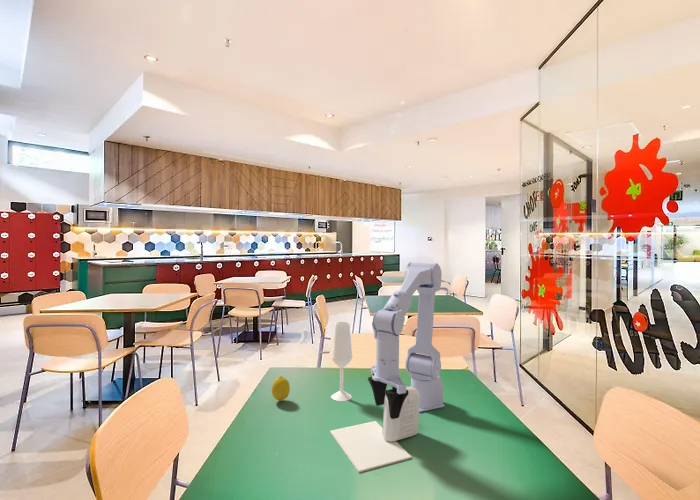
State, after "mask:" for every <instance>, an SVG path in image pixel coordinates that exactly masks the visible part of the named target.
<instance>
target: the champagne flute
mask: <svg viewBox="0 0 700 500" xmlns="http://www.w3.org/2000/svg"><path fill="white" fill-rule="evenodd" d="M351 339H352V337H351V326H350V322H349V321H335V323H334V328H333V339H332V348H331V360H332V362H334V364H335V365H336V366H337V367H339V390H338V391H336V392H335V393H333V394H331V396H330V398H331V399H332V400H333V401H337V402H348V401H349V400H351V399H352V395H351V394H350V393H348V392H347V391H345V390H344V367H346V366H347V365H349V363H350V362H351V361H352V359H353V353H352V352H353V351H352V340H351Z"/></svg>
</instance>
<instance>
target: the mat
mask: <svg viewBox="0 0 700 500" xmlns="http://www.w3.org/2000/svg"><path fill="white" fill-rule="evenodd" d="M382 429H383V426H381V425H380V424H379V423H378V422H377V421H376V420H373V421H368V422H365V423H360V424H355V425H354V424H353V425H351V426H346V427H341V428H335V429H331V430H329V433H330V435H332V437H333V438H334V440H335V441H336V443H337V444H338V445H339V447H340V448H341V450H342V452H343V453H344V454H345V456H346V457H347V458H348V459H349V461H350V462H351V464H352V465H353V467H354V468H355V469H356V471H357V472H358V473H363V472H365V471H371V470H373V469H376V468H380V467H384V466H388V465H391V464H392V465H393V464H397V463H399V462H402V461H403V462H404V461H406V460H410V459H412V455H411V454H410V453H408V451H406V449H405V448H403V446H401V444H400V443H399V442H398V441H390V442H389V441H387V440H385V439H384V438H383V435H382Z"/></svg>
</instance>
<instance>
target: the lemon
mask: <svg viewBox="0 0 700 500" xmlns="http://www.w3.org/2000/svg"><path fill="white" fill-rule="evenodd" d="M290 388H291V387H290V382H289V380H288V379H287V378H286V377H284V376H282V375H280V376H278V377H276V378H275V379H274V380H273V381H272V386H271V394H272V397H273V398H274V400H276V401H278V402H283V401H284V400H285V399H287V398H288V397H289V394H290V391H291V390H290Z"/></svg>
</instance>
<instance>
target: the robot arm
mask: <svg viewBox="0 0 700 500" xmlns="http://www.w3.org/2000/svg"><path fill="white" fill-rule="evenodd" d="M441 285H442V269H441V266H440V265H439V263H437V262H436V263H423V262H422V263H419V262H408V263H407V264H406V266H405V268H404V280H403V282H402V284H401V287H400V289H399V290H397V291H394V292H393V293H392V294H391V295H390V297H389V299H388V301H387V302H386V303H385V305H384V307H383V308H382V309H379V310H378V311H376V312H374V315H373V317H372V322H371V326H372V330H373V332H374V333H373V334H374V336H373V337H374V339H376V343H375V344H376V345H375V346H376V349H375V350H376V351H375V352H376V356H375V358H376V361H375V363H376V364H375V365H371V366H370V374H371V375H372V376H368V378H367V380H368V383H369V384H370V387H371V391H372V392H373V399H374V403H375V405H376V406H382V405H383V406H384V399H385V396H387V399H388V403H389V413H390V418H391V419H395V418H399V415H400V412H401V408H402V405H403V402H404V400H405V398H406V397H407V395H408V390H407V389H406V387H407V384H405V383H404V381H403V380H402V377H401V376H400V334H401V333H402V332H403V329H404V326H405V325H404V323H405V321H406V317H405V316H406V314H407V313H408V311H409V309H410V308H411V306H412V304H413V303H412V302H413V301H412V296H413V295H414V294H415V293H416V291H417V293H418V305H417V321H416V334H415V335H416V336H415V344H413V345H411V346H409V348H407V354H406V356H405V357H406V358H405V363H404V366H405V370H406V372H407V373H408V376H409V377H410V387H413V388H415V389H417V390H418V391H419V394H420V407H419V413H421V412H426V411H431V410H436V409H441V408H444V407H445V404H444V383H443V380H442V378H441V376H440V374H441V370H442V362H441V352H440V351H439V350H438V349H437V348H435V346H434V345H433V328H434V314H435V300H436V292H439V291H441ZM388 386H390V387H391V389H387V387H388Z"/></svg>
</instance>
